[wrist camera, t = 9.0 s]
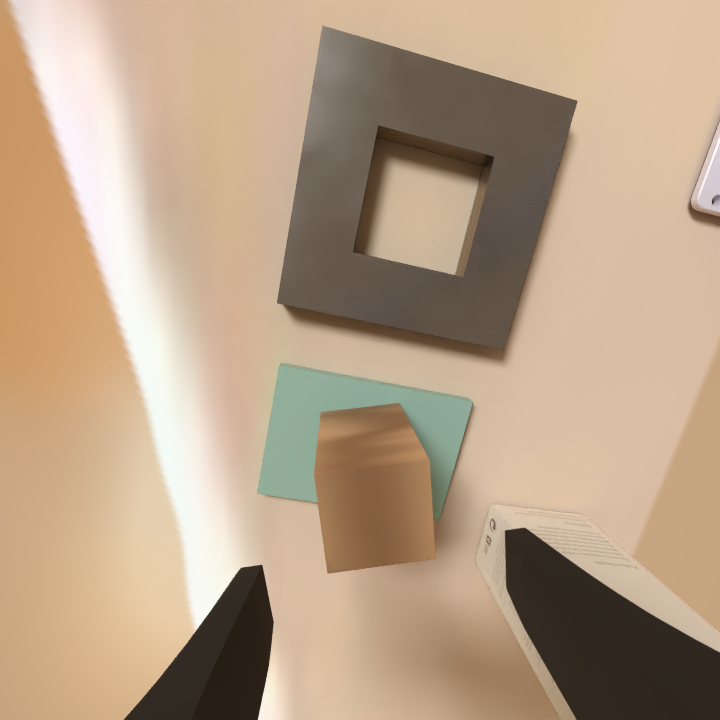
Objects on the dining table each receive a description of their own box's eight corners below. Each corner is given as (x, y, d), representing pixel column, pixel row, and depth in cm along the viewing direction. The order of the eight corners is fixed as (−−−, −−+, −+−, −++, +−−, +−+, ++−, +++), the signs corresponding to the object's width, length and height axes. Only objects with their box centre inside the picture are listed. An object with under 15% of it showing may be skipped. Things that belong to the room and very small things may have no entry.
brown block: (399, 402, 18) (429, 459, 12) (404, 473, 19) (435, 558, 13) (320, 412, 18) (313, 474, 12) (329, 483, 19) (327, 573, 13)
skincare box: (471, 563, 21) (642, 912, 9) (489, 496, 20) (702, 788, 9) (567, 572, 22) (839, 910, 10) (588, 507, 21) (914, 795, 9)
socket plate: (560, 114, 16) (577, 100, 15) (493, 345, 19) (504, 350, 17) (323, 45, 15) (322, 25, 14) (280, 301, 17) (276, 303, 16)
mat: (468, 398, 19) (472, 402, 18) (436, 513, 20) (439, 520, 20) (280, 362, 18) (279, 365, 17) (259, 487, 19) (257, 493, 19)
